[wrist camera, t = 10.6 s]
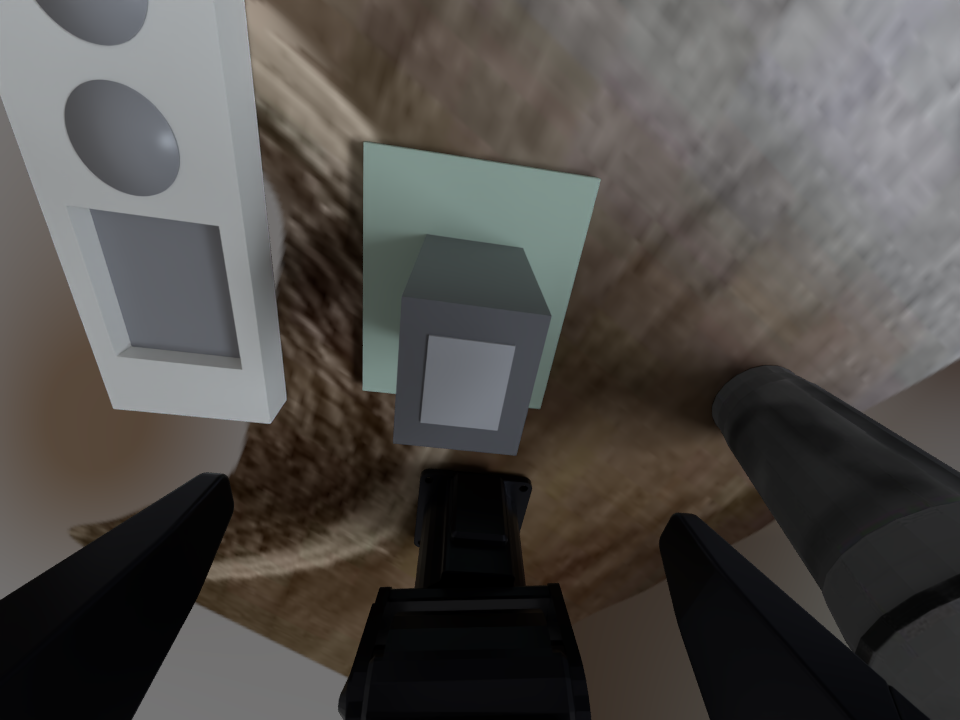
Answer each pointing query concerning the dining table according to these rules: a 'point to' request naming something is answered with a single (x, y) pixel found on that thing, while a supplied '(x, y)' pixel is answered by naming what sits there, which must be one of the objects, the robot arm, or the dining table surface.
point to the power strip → (152, 194)
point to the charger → (468, 346)
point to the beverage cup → (859, 525)
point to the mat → (463, 235)
